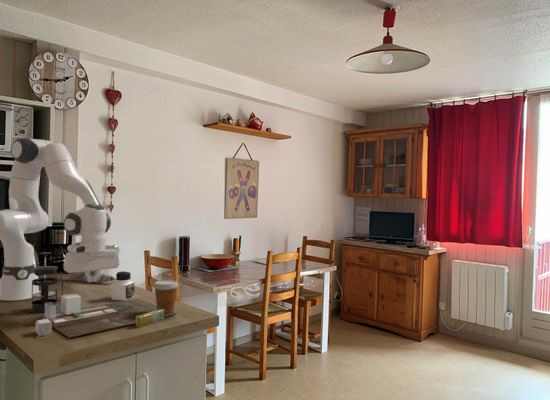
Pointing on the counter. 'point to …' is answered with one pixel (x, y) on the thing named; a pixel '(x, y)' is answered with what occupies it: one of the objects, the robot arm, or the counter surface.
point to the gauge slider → (71, 304)
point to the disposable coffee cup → (165, 294)
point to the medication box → (150, 318)
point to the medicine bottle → (123, 287)
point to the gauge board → (84, 316)
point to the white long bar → (51, 313)
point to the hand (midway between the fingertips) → (91, 281)
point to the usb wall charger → (43, 327)
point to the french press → (44, 287)
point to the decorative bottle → (82, 277)
